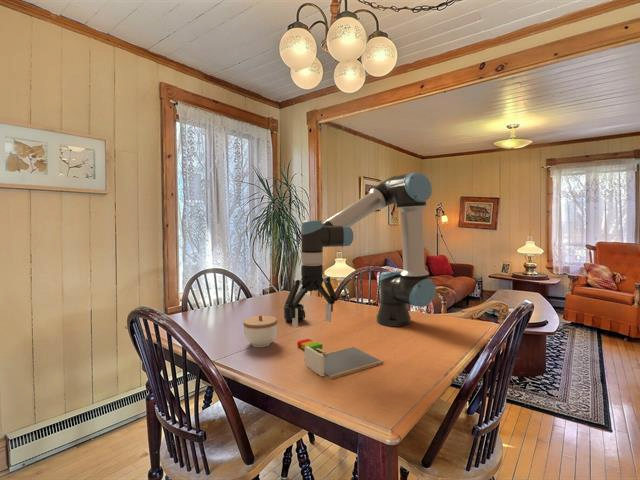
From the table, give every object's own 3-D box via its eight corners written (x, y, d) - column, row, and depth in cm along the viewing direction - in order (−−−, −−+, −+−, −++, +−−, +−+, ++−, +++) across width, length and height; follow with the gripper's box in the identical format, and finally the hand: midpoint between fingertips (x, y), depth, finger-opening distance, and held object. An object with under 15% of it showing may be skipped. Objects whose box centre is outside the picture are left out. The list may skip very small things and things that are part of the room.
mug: (280, 320, 162) (280, 305, 162) (294, 316, 168) (294, 302, 168) (297, 326, 154) (297, 310, 153) (312, 321, 160) (312, 306, 160)
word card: (308, 363, 113) (307, 345, 112) (324, 375, 104) (324, 355, 104) (304, 364, 112) (304, 346, 112) (321, 376, 103) (321, 356, 103)
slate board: (352, 348, 126) (352, 346, 126) (382, 363, 112) (382, 361, 112) (304, 360, 115) (304, 358, 115) (331, 378, 102) (331, 376, 102)
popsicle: (308, 343, 132) (308, 338, 132) (332, 353, 119) (332, 347, 119) (296, 346, 129) (295, 341, 129) (319, 357, 116) (318, 351, 116)
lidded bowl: (241, 340, 135) (240, 312, 135) (273, 336, 140) (272, 309, 139) (246, 352, 124) (245, 321, 123) (281, 347, 128) (280, 317, 127)
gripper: (335, 261, 132) (335, 316, 133) (275, 265, 119) (275, 326, 120) (347, 263, 126) (346, 321, 127) (284, 267, 113) (284, 332, 114)
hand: (312, 324), depth 123 cm, fingers open, 13 cm apart
